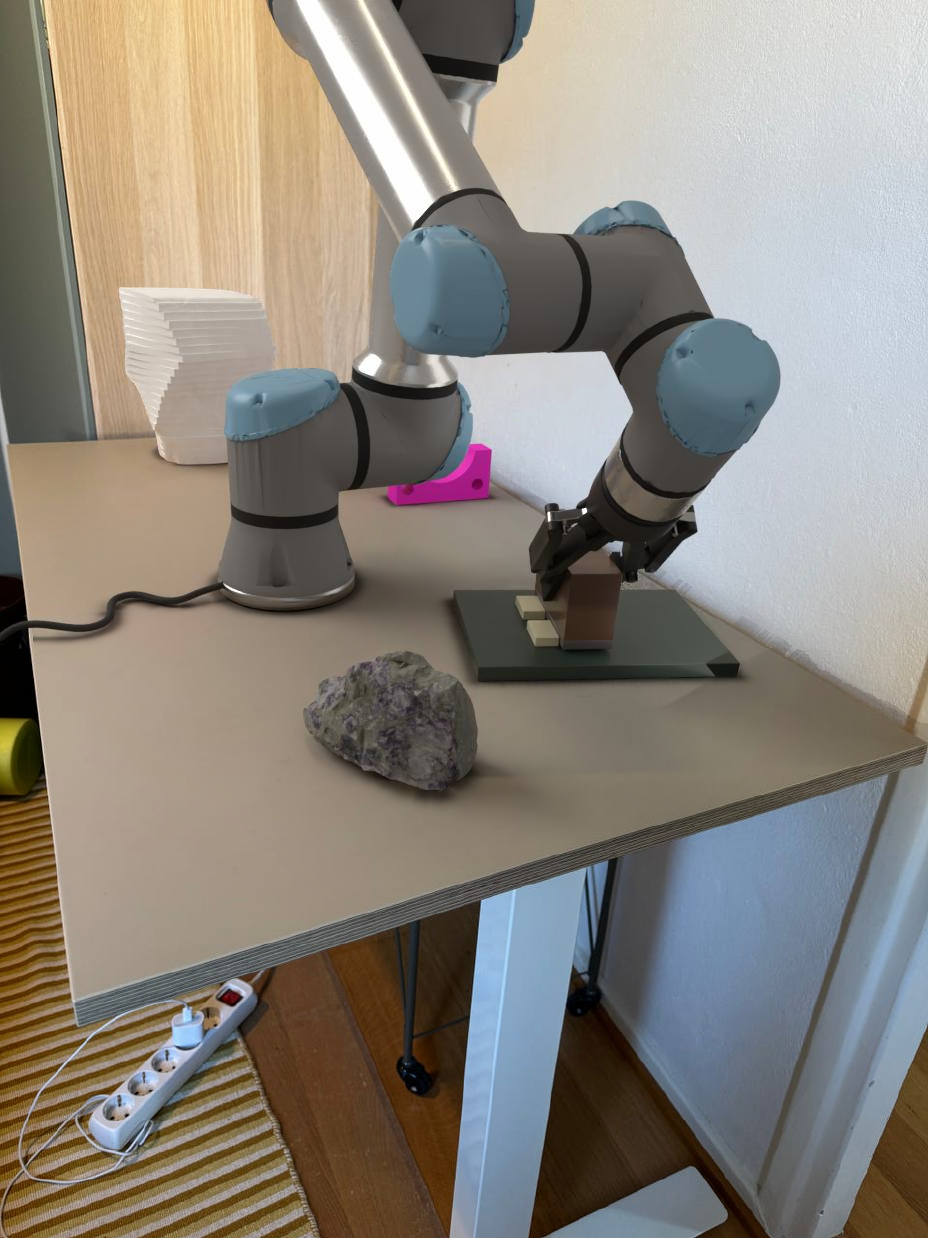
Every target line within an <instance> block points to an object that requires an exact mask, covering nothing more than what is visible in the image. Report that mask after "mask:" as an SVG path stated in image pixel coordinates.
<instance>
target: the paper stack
mask: <svg viewBox="0 0 928 1238" xmlns="http://www.w3.org/2000/svg"><path fill="white" fill-rule="evenodd" d="M118 295H119V298H118V299H119V301H120V309H121V315H122V328H123V336H124V342H125V348H124V354H125V355H124V367H125V368H124V371H125V374H126V376H127V378H128V379H129V380H130V382H132V383H133V384H134V386H135V387H136V389H137V391H138V394H139V395H140V397H141V400H142V403H143V407H145V413H146V415H147V417H148V421H149V424H150V425H151V428H152V430H153V431H154V434H155V438H156V444H157V449H158V454H159V455H160V457H161V458H163V459H164V460H165V461H167V462H169V463H175V464H177V465H186V466H187V465H188V466H189V465H214V464H215V465H216V464H217V465H218V464H225V463H228V455H227V438H226V436H225V433H224V427H225V415H226V396H227V393H228V391H229V390H230V388H231V387H232V386H233V385H234V384H235V383H237V382H238V381H240V380H242V379H244V378H246V377H249V376H252V375H255V374H259V373H263V372H268V371H273V370H275V366H274V363H275V362H276V358H275V356H276V355H277V350H276V346H275V343H274V338H273V335H272V331H271V325H270V319H269V317H268V316H267V314H266V313H267V312H266V309H265V308H263V301H262V300H259V298H257V297H255V296H254V295H251V294H245V293H242V292H240V291H235V290H229V289H222V288H221V289H220V288H201V287H200V288H197V287H138V286H137V287H136V286H135V287H133V286H132V287H131V286H130V287H128V286H127V287H125V286H123V287H121V286H120V287H118Z"/></svg>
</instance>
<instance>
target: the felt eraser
mask: <svg viewBox="0 0 928 1238" xmlns="http://www.w3.org/2000/svg"><path fill="white" fill-rule="evenodd" d="M573 527H574V526H571V528H573ZM571 528H569V529H568V531H569V530H570V529H571ZM609 556H610V555H609V554H608V553H607V552H606V551H605V549H604V547H602V548H601V549H599V550H598V551H596V552H594V551H589V552H588V553H587V554H585V555H584V556H583V557H581V558H580V559H579V560H578V561H576V562H575V563H574V564H572V565H571V566H570V567H568V568H567V569H566V570H565V575H566V578H565V580H564V581H563V583H562V584H561V586H560V587H559V589H558V590H557V592H556V593H555V595H554V596H553V598H552V599H551V601H543V598H542V587H541V583H540V579H539V573H538V574H535V582H534V583H535V585H534V590H535V593H534V595H535V596H538V598H539V600H540V602H541V603H542V605H543V607H544V609H545V611H546V613H545V616H546V618H547V620H550V621H551V623H552V625H553V627H554V629H555V630H556V632H557V634H558V636H559V643H560V645H561V647H562V649H563V650H570V649H612V645H613V638H614V631H615V624H616V618H617V611H618V604H619V597H620V590H622V584H623V583H622V576H623V573H622V572H621V571H620V570H619V568H618V567H617V566H616V565H615V563H614V562H613V561H612V559H611V558H610V557H609Z"/></svg>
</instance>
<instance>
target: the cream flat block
mask: <svg viewBox="0 0 928 1238" xmlns="http://www.w3.org/2000/svg"><path fill="white" fill-rule="evenodd" d="M527 630H528V632H529V635H530V637H531V639H532V641H533V643H534V645H535V646H558V645H559V636H558V634H557V632H556V630H555V629H554V627H553V625H552V623H551V621H550V620H528V621H527Z"/></svg>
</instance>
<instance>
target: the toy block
mask: <svg viewBox="0 0 928 1238" xmlns="http://www.w3.org/2000/svg"><path fill="white" fill-rule="evenodd" d="M492 453H493V449H492V448H490V447H488V446H486V445H485V444H483V443H470V446H469V449H468V451H467V454H466V456H465V458H464V460H463V462H462V463H461V465H460V466H459V467H458V468H457V470H455V471H454V472H453V473H451V474H450V475H448V476H447V477H445V478H443V479H439V480H433V481H427V482H425V483H423V484H419V485H410V484H407V485H397V486H387V498H388V499H389V500H390V501H391V502H392V503H393V504H394V505H395V506H402V505H403V506H404V505H415V504H429V503H439V502H441V503H442V502H452V501H453V502H454V501H466V500H478V499H489V495H490V494H489V493H490V483H491V482H490V481H491V470H492V469H491V467H492V455H493V454H492Z"/></svg>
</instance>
